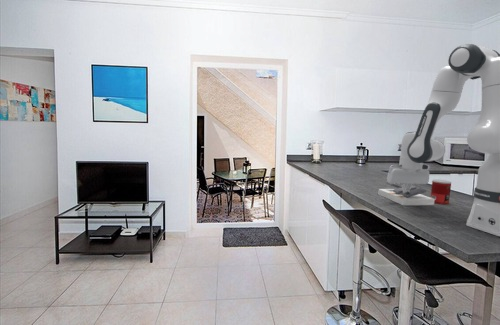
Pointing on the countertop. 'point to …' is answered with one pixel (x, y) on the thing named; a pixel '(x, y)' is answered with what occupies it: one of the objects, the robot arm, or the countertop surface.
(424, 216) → the countertop surface
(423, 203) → the switch unit
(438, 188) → the canned food
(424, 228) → the countertop surface
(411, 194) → the near rocker
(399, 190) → the middle rocker
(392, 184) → the far rocker
